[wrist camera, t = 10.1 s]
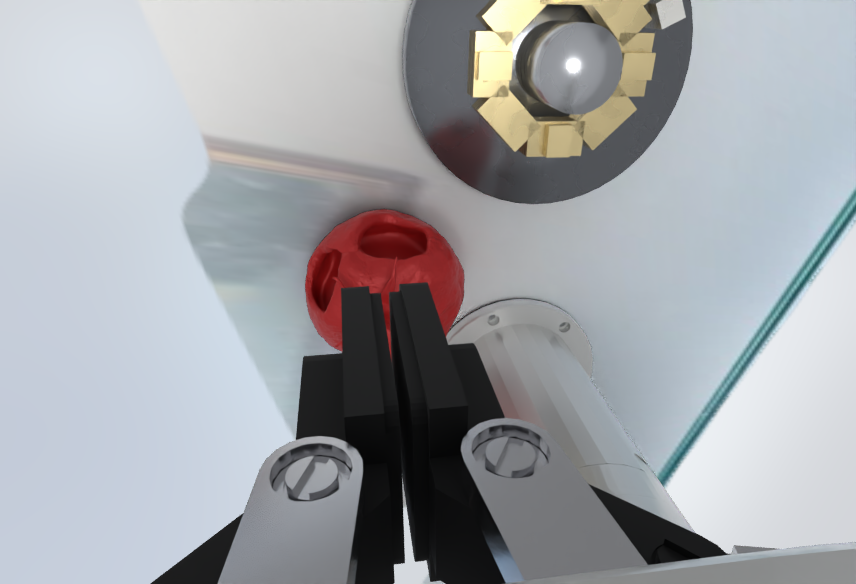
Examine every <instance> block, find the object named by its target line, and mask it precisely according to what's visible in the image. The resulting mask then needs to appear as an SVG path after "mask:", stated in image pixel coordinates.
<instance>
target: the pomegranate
mask: <svg viewBox="0 0 856 584" xmlns="http://www.w3.org/2000/svg"><path fill="white" fill-rule="evenodd" d="M307 267H308V268H307V276H306V283H305V291H306V302H307V307H308V312H309V315H310V318H311V320H312V322H313V324H314V326H315V328H316V330H317V332H318V334H319V335H320V336H321V337H323V338H324V339H325V341H326V342H327V343H328V344H329V345H331V346H332V347H334V348H336V349H338V350H340V351H342V312H341V288H348V287H363V286H369V290H370V293H381V299H382V305H383V311H384V318H385V324H386V330H387V336H388V343H389V349H390V355H391V335H390V310H389V292H398V291H399V284H408V283H423V282H427V283H428V285H429V288H430V291H431V294H432V297H433V300H434V303H435V306H436V309H437V312H438V315H439V318H440V321H441V324H442V327H443V330H444V333H445V336H447V334H448V331H449V329H450V327H451V326H452V324H453V322H454V320H455V318H456V316H457V314H458V312H459V310H460V306H461V304H462V301H463V297H464V270H463V268H462V266H461V264H460V262H459V259H458V258H457V256H456V255H455V253H454V251H453V250H452V248H451V247H450V245H449V243H448V242H447V240H446V239H445V238H444V237H442V236H441V235H440V234H439V233H438V231H437V230H436V229H434V228H433V227H432V226H431V225H429V224H427V223H425V222H423V221H421V220H419V219H417V218H415V217H413V216H411V215H408V214H407V215H406V214H403V213H400V212H398V211H394V210H387V209H380V210H374V211H368V212H363V213H360V214H359V215H357V216H355V217H353V218H350V219H348V220H347V221H345V222H344V223H341V224H339V225H337V226H336V227H334V229H333V230H332V231H331V232H330V233H329V234H328V235H327V236H326V237H325V238H324V239H323V240H322V242H321V243H320V244H319V245H318V247H317V248H316V249H315V251H314V253H313V254H312V256H311V258H310V260H309V263H308V266H307ZM446 339H447V338H446ZM391 362H392V361H391Z"/></svg>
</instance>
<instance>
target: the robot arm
mask: <svg viewBox="0 0 856 584" xmlns="http://www.w3.org/2000/svg"><path fill="white" fill-rule="evenodd" d="M389 310H390V335H391V355H390V349H389V343H388V336H387V330H386V324H385V318H384V311H383V305H382V299H381V293H370V290H369V286H363V287H348V288H341V312H342V353H340V354H328V355H315V356H304V357H303V365H302V377H301V388H300V399H299V411H298V422H297V434H296V440H295V441H292V442H289V443H288V444H286V445H284V446H282V447H280V448H279V449H277V450H276V451H274V452H273V453H272V454H271V455H270V456H269V457H268V458H267V459H266V460H265V462H264V463H263V465H262V467H261V469H260V470H259V473H258V476H257V478H256V481H255V484H254V486H253V489H252V492H251V494H250V497H249V500H248V502H247V505H246V508H245V511H244V513H243V514H242V515H240V516H239V517H237V518H236V519H235V520H234V521H232V522H231V523H230V524H228V525H227V526H226V527H224V528H223V529H222V530H220V531H219V532H218V533H217V534H215V535H214V536H213V537H211V538H210V539H209V540H207V541H206V542H205V543H203V544H202V545H201V546H199V547H198V548H197V549H195V550H194V551H193V552H192V553H190V554H189V555H188V556H186V557H185V558H184V559H182V560H181V561H180V562H178V563H177V564H176V565H174V566H173V567H172V568H170V569H169V570H168V571H166V572H165V573H164V574H163V575H161V576H160V577H159V578H157V579H156V580H155V581H153V582H152V583H151V584H394V564H401V563H405V554H404V526H403V495H402V477H403V484H404V491H405V498H406V505H407V512H408V519H409V525H410V532H411V539H412V546H413V553H414V559H415V562H417V561H424V560H427V564H428V570H429V577H430V582H433V581H442V582H444V583H446V584H856V542H850V543H839V544H824V545H814V546H803V547H794V548H787V549H775V548H762V547H749V546H736V545H734V547H733V550H732V553H731V554H726V553H725V552H724V551H723V550H722V549H721V548H720V547H718V546H717V545H716V544H714V543H712V542H711V541H709V540H707V539H705V538H703V537H702V536H700V535H698V534H696V533H695V532H694V530H693V529H692V528H691V526H690V525H689V523H688V522H687V521H686V519H685V518H684V516H683V515H682V513H681V512H680V511H679V509H678V508H677V506H676V505H675V503H674V502H673V500H672V499H671V497H670V496H669V494H668V493H667V491H666V490H665V488H664V487H663V485H662V484H661V483H660V481H659V480H658V478H657V477H656V475H655V474H654V472H653V471H652V469H651V468H650V466H649V465H648V463H647V462H646V460H645V459H644V457H643V456H642V454H641V453H640V452H639V450H638V449H637V447H636V446H635V444H634V443H633V441H632V440H631V438H630V437H629V435H628V434H627V432H626V431H625V429H624V428H623V426H622V425H621V423H620V422H619V420H618V419H617V418H616V416H615V415H614V413H613V412H612V410H611V409H610V407H609V406H608V404H607V403H606V401H605V400H604V398H603V397H602V395H601V394H600V392H599V391H598V389H597V388H596V387H595V385H594V384H593V382H592V381H591V376H592V368H593V357H592V349H591V346H590V344H589V341H588V338H587V336H586V335H585V333H584V332H583V330H582V329H581V327H580V326H579V325H578V324H577V322H576V321H575V320H574V319H573V318H572V317H571V316H570V315H569V314H567V313H566V312H564V311H563V310H562V309H560V308H558V307H556V306H553V305H551V304H549V303H546V302H542V301H537V300H532V299H513V300H506V301H500V302H497V303H494V304H491V305H488V306H485V307H482V308H480V309H479V310H477V311H475V312H473V313H471V314H469V315H468V316H466V317H465V318H464V319H462V320H461V321H460V322H458V323H457V324H456V325H455V326H454V327H453V328H452V329H451V330H450V331H449V332H448V334H447V336H445V333H444V330H443V327H442V324H441V321H440V318H439V315H438V312H437V309H436V306H435V303H434V300H433V297H432V294H431V291H430V288H429V285H428V283H427V282H423V283H408V284H399V291H398V292H389ZM491 315H493V316H491ZM490 316H491V317H490ZM446 338H447V339H446ZM391 361H392V362H391Z"/></svg>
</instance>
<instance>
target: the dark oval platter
mask: <svg viewBox="0 0 856 584" xmlns="http://www.w3.org/2000/svg"><path fill="white" fill-rule="evenodd" d="M489 1H490V0H412V3H411V6H410V9H409V12H408V16H407V21H406V26H405V30H404V39H403V49H402V62H403V77H404V84H405V90H406V95H407V98H408V102H409V105H410V109H411V112H412V114H413V116H414V119H415V121H416V123H417V126H418V128H419V129H420V131H421V133H422V134H423V136H424V138H425V140H426V141H427V143H428V144H429V146H430V147H431V149H432V150H433V152H434V153H435V154H436V155H437V157H438V158H439V159H440V160H441V162H442V163H443V164H444V165H445V166H446V167H447V168H448V169H449V170H450V171H451V172H452V173H453V174H454V175H455V176H457V177H458V178H460V179H461V180H462V181H464V182H465V183H466V184H468V185H469V186H471V187H473V188H475V189H477V190H479V191H480V192H482V193H484V194H487V195H490V196H492V197H495V198H498V199H501V200H506V201H510V202H515V203H526V204H542V203H553V202H558V201H564V200H568V199H571V198H574V197H577V196H581V195H583V194H586V193H588V192H590V191H592V190H594V189H597V188H599V187H601V186H602V185H604V184H606V183H607V182H609V181H611V180H612V179H614V178H615V177H617V176H618V175H619V174H621V173H622V172H623V171H624V170H626V169H627V168H628V167H629V166H631V165H632V164H633V163H634V162H635V161H636V160H637V159H638V158H639V157H640V156H641V155H642V154H643V153H644V152H645V151H646V149H647V148H648V147H649V146H650V145H651V143H652V142H653V141H654V140H655V139H656V137H657V136H658V134H659V133H660V131H661V130H662V128H663V127H664V125H665V124H666V122H667V120H668V118H669V116H670V115H671V113H672V111H673V109H674V107H675V105H676V102H677V100H678V98H679V95H680V93H681V90H682V88H683V84H684V81H685V77H686V74H687V70H688V66H689V60H690V55H691V49H692V33H693V23H692V7H691V1H690V0H649V1H648V2H647V3H646V4H645V5H644V8H645V9H646V11H647V12H648V14H649V15H650V16H651V18H652V20H651V21H650V22H649V23H647V24H646V25H645V26H644V27H643V28H642V29H641V30H640V31H639V32H648V33H655V35H654V41H653V47H652V52H653V53H656V56H655V62H654V68H653V73H652V79H651V80H647V82H646V88H645V94H644V96H635V97H628V98H629V99H630V100H631V102H632V103H633V104H634V106H635V107H636V108H637V110H636V111H635V112H634V113H633V114H631V115H630V116H629V117H628V118H627V119H626V120H625V121H624V122H623V123H622V124H621V125H620V126H619V127H618V128H617V129H615V130H614V131H613V132H612V133H611V134H610V135H609V136H608V137H607V138H606V139H605V140H604V141H603V142H602V143H600V144H599V145H598V146H597V147H596V148H595V149H594V150H593V151H592V150H591V149H589V148H587V147H586V146H584V145H582V150H581V156H570V157H556V158H546V157H526V156H525V155H523V154H522V153H521V152H520V151H519V149H518V150H517V151H516V152H514V151H513V150H512V149H511V148H510V147H508V146H507V145H506V144H505V142H504V141H503V140H502V139H501V138H500V137H499V136H498V135H497V134H496V132H495V131H494V130H493V129H492V128H491V127H490V126H489V125H488V124H487V123H486V121H485V120H484V119H483V118H482V117H481V116H480V115H479V114H478V113H477V111H476V110H475V109H474V108H473V107H472V105H473V104H474V103H475V102H476V101H477V100H478V99H479V98H480V97H472V96H470V95H469V94H467V84H468V60H469V36H470V30H487V29H486V28H485V27H484V26H483V24H482V23H481V22H480V21H479V19H478V18H477V17H476V15H477V14H478V13H479V12H480V11H481V10H482V9H483V8H484V7H485V5H486V4H487V3H488V2H489ZM512 52H513V63H512V77H511V80H509V90H510V91H511V92H512V94H513V95H514V96H515V97H516V98H517V99H518V101H519V102H520V103H521V104H522V105H523V106H524V108H525V109H526V110H527V111H528V112H529V113H530V115H531V116H532V117H547V116H569V115H570V114H572V115H580V114H585V113H588V112H591V111H593V110H595V109H597V108H599V107H600V106H601V105H603V104H604V103H605V102H606V101H607V100H608V99H609V98H610V97H611V95H612V94H613V93H614V91H615V89H616V87H617V85H618V83H619V81H620V78H621V74H622V67H623V58H622V52H621V48H620V46H619V43H618V41H617V40H616V38H615V37H614V35H613V34H612V33H611V32H610V31H609V30H607V29H606V28H604V27H602V26H600V25H597V24H595V22H594V21H593V20H592V18H591V17H590V16H589V14H588V13H587V11H586V10H585V9H584V7H583V6H582V5H571V4H547V5H546V6H545V7H544V8H543V9H542V10H541V11H540V12H539V13H538V14H537V15H536V17H535V18H534V19H533V20H532V21H531V22H530V23H529V24H528V25H527V26H526V27H525V28H524V29H523V30H522V31H521V32H520V33H519V34H518V35H517V36H516V37H515V38H514V39H513V40H512Z"/></svg>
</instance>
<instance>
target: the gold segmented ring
mask: <svg viewBox="0 0 856 584" xmlns="http://www.w3.org/2000/svg"><path fill="white" fill-rule="evenodd" d="M648 1H649V0H490V1H489V2H488V3H487V4H486V5H485V7H484V8H483V9H482V10H481V11H480V12H479V13H478V14H477V15H476V17H477V18H478V19H479V21H480V22H481V23H482V24H483V26H484V27H485V28H486V29H487V30H470V36H469V60H468V84H467V94H469V95H470V96H472V97H480V98H479V99H478V100H477V101H476V102H475V103H474V104H473V105H472V107H473V108H474V109H475V110H476V111H477V113H478V114H479V115H480V116H481V117H482V118H483V119H484V120H485V121H486V123H487V124H488V125H489V126H490V127H491V128H492V129H493V130H494V131H495V132H496V134H497V135H498V136H499V137H500V138H501V139H502V140H503V141H504V142H505V144H506V145H507V146H508V147H510V148H511V149H512V150H513V151H514V152H516V151H517V150H518V149H519V151H520V152H521V153H522V154H523V155H525V156H526V157H546V158H556V157H570V156H581V150H582V145H584V146H586V147H587V148H589V149H591V150H592V151H593V150H594V149H595V148H596V147H597V146H598V145H599V144H600V143H602V142H603V141H604V140H605V139H606V138H607V137H608V136H609V135H610V134H611V133H612V132H613V131H614V130H615V129H617V128H618V127H619V126H620V125H621V124H622V123H623V122H624V121H625V120H626V119H627V118H628V117H629V116H630V115H631V114H633V113H634V112H635V111H636V110H637V108H636V107H635V106H634V104H633V103H632V102H631V100H630V99H629V98H628V97H635V96H644V94H645V88H646V82H647V80H651V79H652V73H653V68H654V62H655V56H656V53H653V52H652V47H653V41H654V35H655V33H648V32H639V31H640V30H641V29H642V28H643V27H644V26H645V25H646V24H647V23H649V22H650V21H651V20H652V18H651V16H650V15H649V14H648V12H647V11H646V9H645V8H644V5H645V4H646V3H647V2H648ZM547 4H571V5H582V6H583V7H584V9H585V10H586V11H587V13H588V14H589V16H590V17H591V18H592V20H593V21H594V22H595V24H597V25H600V26H602V27H604V28H606V29H607V30H609V31H610V32H611V33H612V34H613V35H614V37H615V38H616V40H617V41H618V43H619V46H620V48H621V52H622V58H623V67H622V74H621V78H620V81H619V83H618V85H617V87H616V89H615V91H614V93H613V94H612V95H611V97H610V98H609V99H608V100H607V101H606V102H605V103H604V104H603V105H601V106H600V107H599V108H597V109H595V110H593V111H591V112H588V113H585V114H580V115H572V114H570V115H569V116H547V117H532V116H531V115H530V113H529V112H528V111H527V110H526V109H525V108H524V106H523V105H522V104H521V103H520V102H519V101H518V99H517V98H516V97H515V96H514V95H513V94H512V92H511V91H510V90H509V80H511V77H512V63H513V52H512V40H513V39H514V38H515V37H516V36H517V35H518V34H519V33H520V32H521V31H522V30H523V29H524V28H525V27H526V26H527V25H528V24H529V23H530V22H531V21H532V20H533V19H534V18H535V17H536V15H537V14H538V13H539V12H540V11H541V10H542V9H543V8H544V7H545V6H546V5H547Z"/></svg>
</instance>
